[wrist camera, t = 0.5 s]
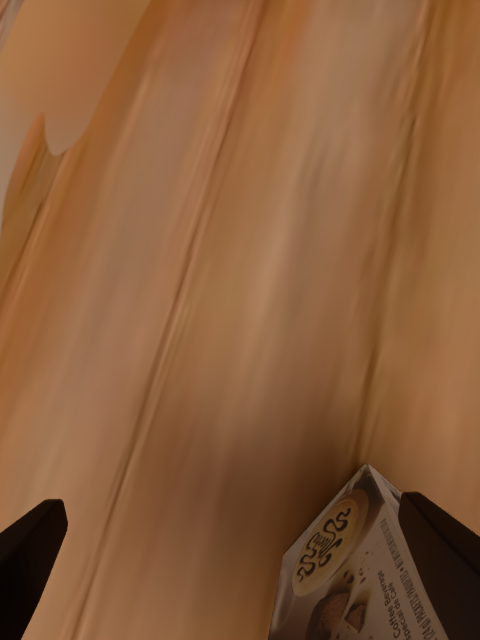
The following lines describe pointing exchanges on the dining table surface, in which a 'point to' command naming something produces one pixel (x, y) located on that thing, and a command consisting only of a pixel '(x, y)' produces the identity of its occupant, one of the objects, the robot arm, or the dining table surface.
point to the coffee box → (354, 573)
